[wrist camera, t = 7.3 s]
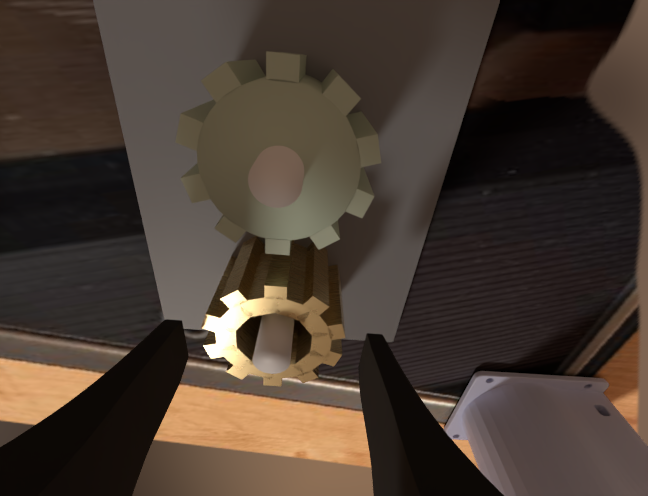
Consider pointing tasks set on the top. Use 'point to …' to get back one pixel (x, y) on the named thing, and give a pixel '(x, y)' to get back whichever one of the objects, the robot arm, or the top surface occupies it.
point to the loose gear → (277, 309)
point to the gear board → (386, 80)
